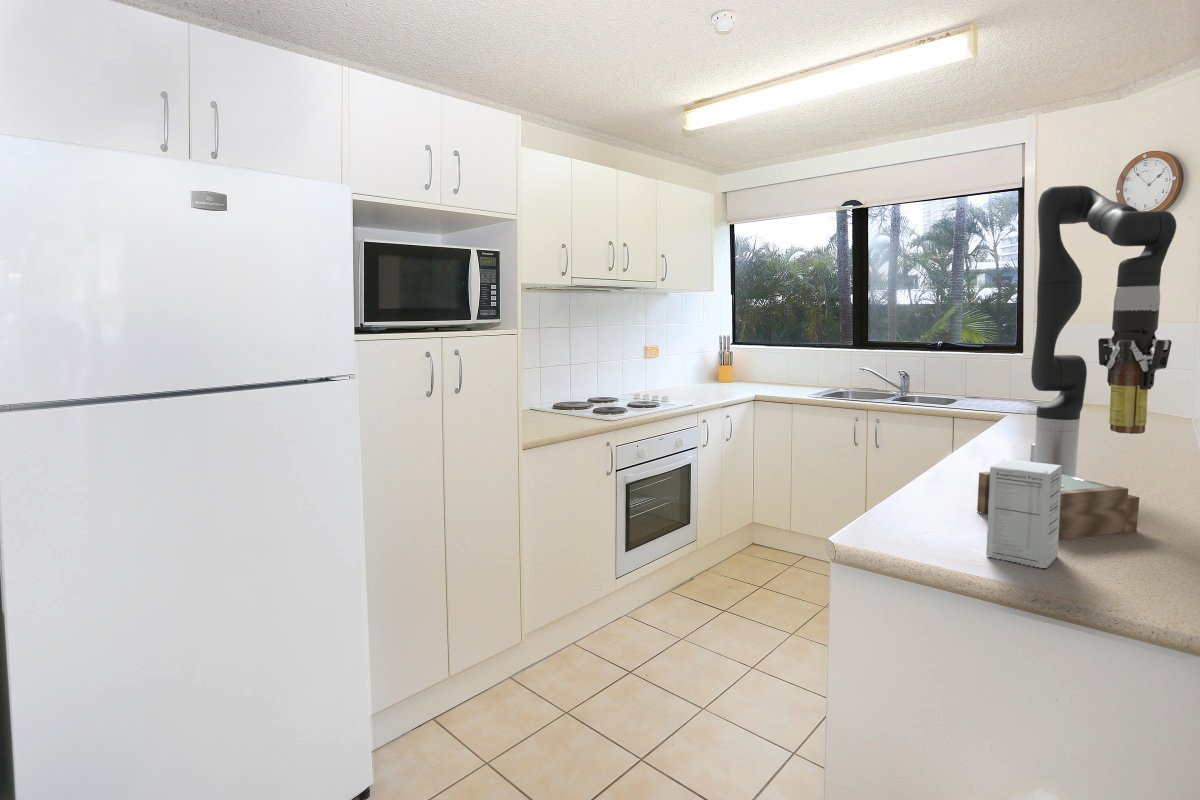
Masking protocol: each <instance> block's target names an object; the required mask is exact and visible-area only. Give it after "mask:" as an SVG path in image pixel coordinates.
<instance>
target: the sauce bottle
mask: <svg viewBox="0 0 1200 800" xmlns="http://www.w3.org/2000/svg"><path fill="white" fill-rule="evenodd" d="M1132 341H1136V342H1137V340H1120V341H1119V347H1120V352H1119V361H1118V363H1117V365H1116V366H1115V368H1114V369H1113V373H1112V378H1111V386H1110V396H1109V397H1110V398H1109V417H1108V418H1109V419H1108V421H1109V422H1108V423H1109V424H1110V425H1109V429H1110V431H1112V432H1115V433H1118V434H1130V435H1133V434H1136V435H1139V434H1143V433H1145V431H1146V425H1147V418H1148V417H1147V416H1148V410H1147V409H1148V394H1149V393H1148V392H1149V391H1148V390H1149V389H1147V390H1144V389H1140V378H1141V372H1143V370H1142V368H1141V365H1140V363H1139V362H1138V361H1137V360H1136V358H1135V356H1134V353H1133V351H1132V349H1131V345H1132Z"/></svg>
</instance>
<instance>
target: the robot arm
mask: <svg viewBox="0 0 1200 800" xmlns="http://www.w3.org/2000/svg"><path fill="white" fill-rule="evenodd" d="M1038 200H1039V201H1038V204H1037V206H1038V207H1037V225H1038V226H1037V227H1038V242H1039V243H1038V244H1039V245H1038V246H1039V255H1038V256H1039V259H1038V260H1039V261H1038V275H1037V277H1038V278H1037V290H1036V291H1037V292H1036V295H1037V296H1036V304H1037V305H1036V306H1037V307H1036V326H1035V327H1036V328H1035V329H1036V330H1035V338H1034V347H1033V348H1034V349H1033V352H1032V353H1033V354H1032V359H1031V369H1030V370H1031V373H1030V374H1031V377H1030V378H1031V382H1032V386H1033V388H1035V390H1037V391H1040V392H1059V393H1058V396H1056V397H1055V398H1054V399H1052V400H1050V401H1048V402H1045V403H1041V404H1039V405H1038V406H1037V408H1036V413H1035V414H1036V415H1035V432H1034V433H1035V434H1034V443H1032V444H1031V445H1030V446H1031V447H1030V458H1029V459H1030V460H1029V462H1036V463H1045V464H1054V465H1062V474H1063V475H1067V476H1071V477H1075V478H1077V468H1078V467H1077V465H1078V464H1077V463H1078V453H1079V438H1080V437H1079V436H1080V421H1081V412H1082V409H1083V406H1084V400H1085V391H1086V385H1087V375H1088V374H1087V373H1088V372H1087V364H1086V363H1087V362H1086V361H1085V360H1084V358H1083V357H1082V356H1081V355H1076V354H1055V350H1056V344H1057V341H1058V338H1059V335H1060V333H1061V332H1062V331H1063V328H1065V326H1066V324H1067V323H1068V322H1069V321H1070V320H1071V318H1072V317H1073V316H1074V315H1075V313H1076V312H1077V310H1078V308H1079V306H1080V305H1081V302H1082V291H1083V276H1082V272H1081V270H1080V269H1079V268H1080V267H1078V265H1077V264H1076V262H1075V260H1074V259H1073V258H1072V257H1071V255H1070V254H1069V252H1068V251H1067V249H1066V247H1065V246H1064V243H1063V240H1062V234H1061V227H1060V226H1061V225H1074V224H1079V223H1087V225H1088V226H1089V228H1090V229H1091V230H1093V231H1095V232H1096V233H1099V234H1100V235H1104V236H1106V237H1107V238H1108V239H1109V240H1110V242H1112V243H1113V244H1114V245H1117V246H1120V247H1144V249H1143V250H1142V252H1141V254H1140V255H1139V256H1134V257H1131V258H1127V259H1124V260H1122V261H1121V262H1120V263H1119V265H1118V269H1117V270H1118V271H1117V278H1116V279H1117V282H1116V290H1115V291H1116V292H1115V294H1114V300H1113V312H1112V325H1111V329H1112V331H1113V336H1112V337H1104V338H1103V337H1101V338H1099V339H1098V340H1097V342H1098V363H1099V364H1098V365H1100V366H1103V367H1106V368H1107V379H1106V381H1107V384H1108V386H1110V387H1111V378H1112V373H1113V369H1114V368H1115V366H1116V365H1117V363H1118V361H1119V352H1120V347H1119V341H1120V340H1137V342H1136V341H1132V345H1131V349H1132V351H1133V353H1134V356H1135V358H1136V360H1137V361H1138V362H1139V363H1140V365H1141V368H1142V370H1143V372H1141V378H1140V389H1144V390H1147V389H1148V390H1151V389H1152V387H1153V386H1154V385H1155V375H1156V374H1155V373H1156V371H1159V370H1162V369H1163V370H1164V369H1166V368H1167V366H1168V361H1169V358H1170V357H1169V355H1170V352H1171V347H1172V343H1173V342H1172V340H1171V339H1159V338H1157V336H1156V331H1157V330H1158V328H1159V319H1160V318H1159V315H1160V307H1161V306H1160V305H1161V290H1160V289H1161V287H1160V286H1161V278H1162V277H1161V275H1162V267H1163V264H1164V260H1165V258H1166V256H1167V254H1168V251H1169V249H1170V246H1171V244H1172V241H1173V240H1174V237H1175V234H1176V230H1177V220H1176V218H1175V216H1174V215H1173V214H1172V213H1171V212H1170V211H1167V210H1146V211H1139V210H1138V209H1137V208H1135V207H1134V206H1132V205H1129V204H1125V203H1121V202H1117V201H1113V200H1111V199H1108V198H1107V197H1106V196H1104V195H1102V194H1101V193H1100V192H1098V191H1097V190H1095V189H1093V188H1092V187H1089V186H1087V185H1063V186H1061V185H1060V186H1058V185H1057V186H1050V187H1047V188H1045V189H1044V190H1043V191H1042V193H1041V194H1040V197H1039V199H1038ZM1113 347H1114V349H1113ZM1152 348H1153V349H1154V350H1153V349H1152Z"/></svg>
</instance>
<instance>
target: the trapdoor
mask: <svg viewBox="0 0 1200 800" xmlns="http://www.w3.org/2000/svg"><path fill="white" fill-rule="evenodd" d="M1101 487H1113V486H1111V485H1108V484H1103V483H1099V482H1097V481H1096V482H1095V481H1091V480H1087V479H1084V478H1078V477H1076V478H1075V477H1071V476H1067V475H1063V474H1062V478H1061V491H1063V490H1076V489H1088V488H1101Z"/></svg>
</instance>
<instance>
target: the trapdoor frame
mask: <svg viewBox="0 0 1200 800" xmlns="http://www.w3.org/2000/svg"><path fill="white" fill-rule="evenodd" d="M989 486H990V471H983V472H978V485H977V488H978V489H977V507H976V512H977V511H978V512H981V513H983V514H982V515H984V514H985V515H988V504H989ZM1139 509H1140V496H1136V495H1131V494H1129V487H1123V486H1120V485H1116V486H1115V485H1114V486H1112V487H1101V488H1088V489H1076V490H1063V491H1061V498H1060V518H1059V539H1058V540H1061V539H1073V538H1074V537H1075V538H1082V537H1083V538H1084V536H1085V537H1095V536H1102V535H1103V536H1105V535H1113V534H1115V535H1116V534H1124V533H1125V534H1126V533H1134V532H1135V531H1136V532H1137V531H1138V530H1137V529H1138V520H1139V519H1138V517H1139ZM978 512H977V513H978ZM981 513H980V514H981Z"/></svg>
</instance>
